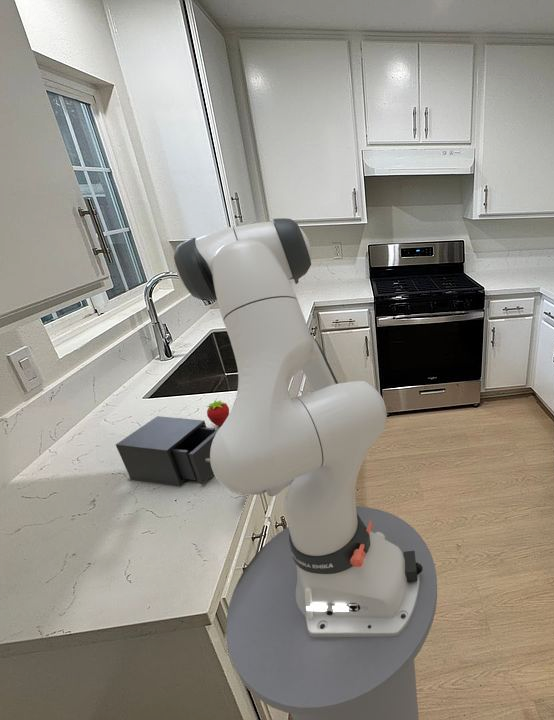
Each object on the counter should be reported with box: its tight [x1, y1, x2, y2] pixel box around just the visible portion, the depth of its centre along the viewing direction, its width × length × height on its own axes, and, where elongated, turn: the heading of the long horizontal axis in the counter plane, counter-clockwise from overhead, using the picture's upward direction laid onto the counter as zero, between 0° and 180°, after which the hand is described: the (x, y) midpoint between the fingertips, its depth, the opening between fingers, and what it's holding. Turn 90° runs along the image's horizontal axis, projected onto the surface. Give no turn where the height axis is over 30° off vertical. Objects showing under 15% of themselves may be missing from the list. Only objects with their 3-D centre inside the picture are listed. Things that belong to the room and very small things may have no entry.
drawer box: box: [115, 415, 207, 487], centre depth 99 cm, size 15×13×11 cm
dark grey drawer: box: [170, 426, 220, 485], centre depth 97 cm, size 18×11×9 cm, turn 78°
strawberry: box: [206, 399, 230, 428], centre depth 115 cm, size 6×8×10 cm
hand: (238, 454), depth 94 cm, fingers closed
